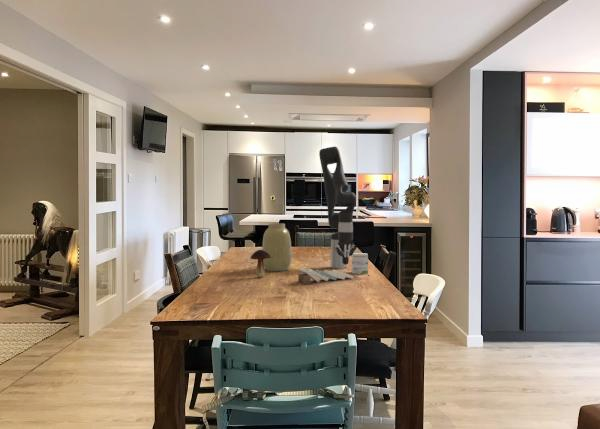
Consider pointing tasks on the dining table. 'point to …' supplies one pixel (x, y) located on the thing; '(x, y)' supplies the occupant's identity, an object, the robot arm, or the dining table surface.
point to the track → (306, 279)
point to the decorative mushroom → (260, 261)
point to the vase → (277, 247)
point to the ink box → (360, 263)
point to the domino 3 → (326, 275)
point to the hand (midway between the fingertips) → (345, 264)
